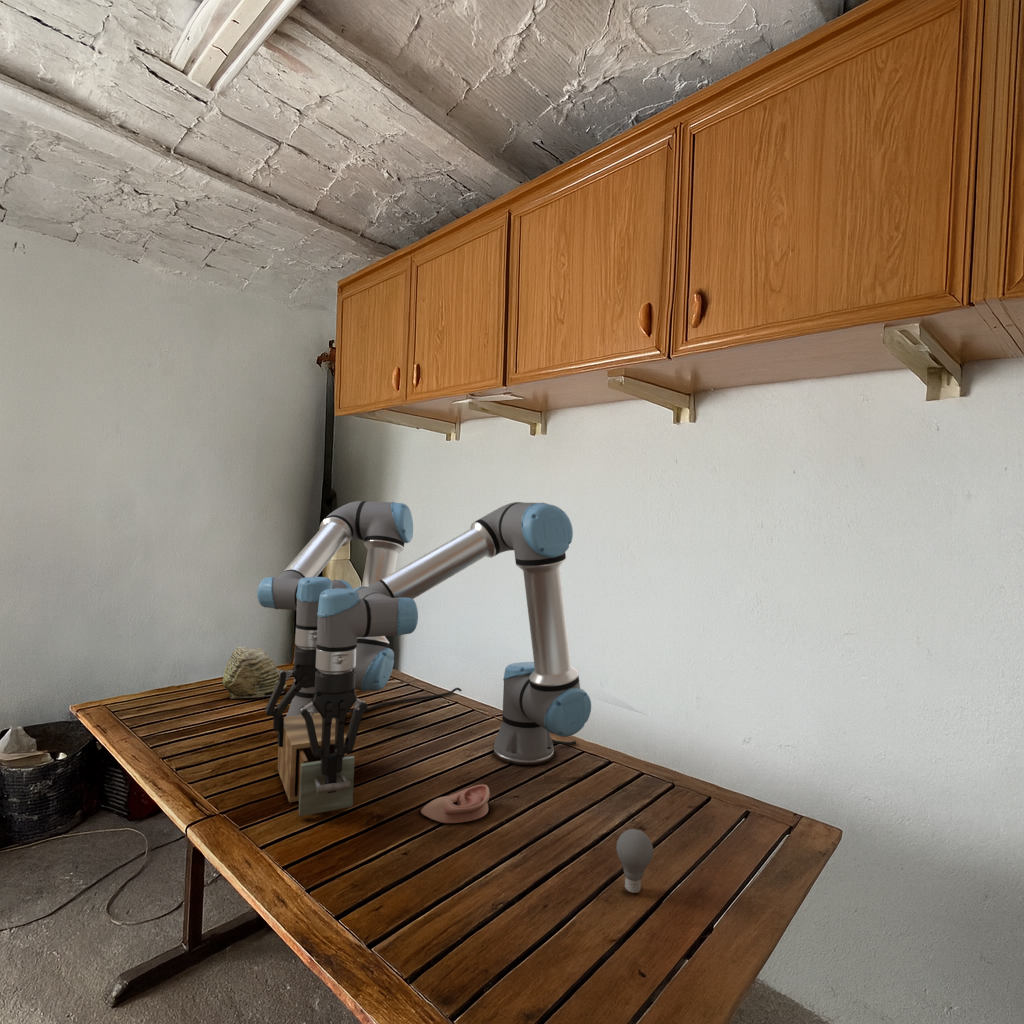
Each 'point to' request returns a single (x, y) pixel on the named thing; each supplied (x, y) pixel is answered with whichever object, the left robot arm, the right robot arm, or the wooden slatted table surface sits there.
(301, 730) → the cabinet
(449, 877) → the wooden slatted table surface
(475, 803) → the anatomical model
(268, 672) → the fossil
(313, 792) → the drawer
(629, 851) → the light bulb
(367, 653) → the left robot arm
